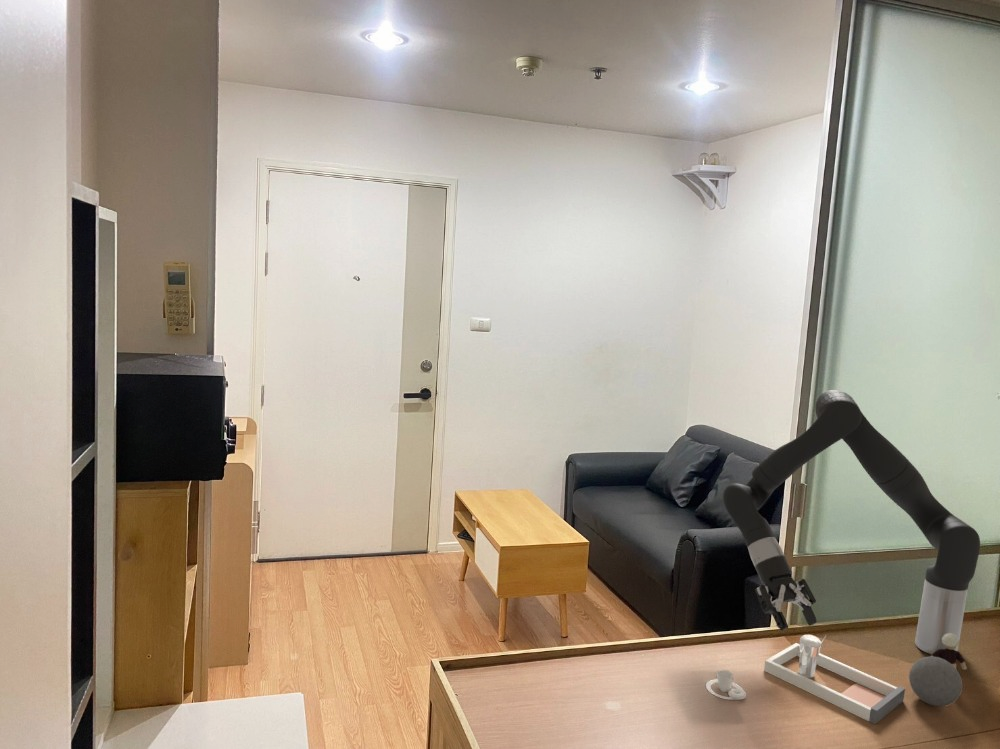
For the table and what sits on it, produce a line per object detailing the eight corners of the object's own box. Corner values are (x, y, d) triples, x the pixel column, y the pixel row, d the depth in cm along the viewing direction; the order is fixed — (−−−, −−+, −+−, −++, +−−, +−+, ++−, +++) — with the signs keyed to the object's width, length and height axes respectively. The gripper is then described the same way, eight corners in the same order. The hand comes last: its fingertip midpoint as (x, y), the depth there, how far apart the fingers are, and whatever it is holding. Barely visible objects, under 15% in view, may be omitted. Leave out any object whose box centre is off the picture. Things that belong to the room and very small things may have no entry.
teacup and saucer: (750, 704, 166) (753, 686, 165) (713, 703, 165) (715, 685, 164) (735, 681, 174) (737, 664, 174) (700, 680, 174) (702, 663, 173)
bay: (794, 652, 188) (796, 640, 188) (903, 701, 170) (905, 688, 169) (763, 670, 179) (765, 658, 178) (874, 724, 160) (876, 710, 160)
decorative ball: (896, 689, 174) (903, 647, 173) (938, 689, 175) (945, 647, 174) (924, 716, 165) (931, 671, 163) (969, 716, 166) (976, 672, 164)
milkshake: (822, 681, 176) (828, 640, 174) (797, 677, 177) (802, 636, 175) (818, 671, 180) (824, 630, 178) (794, 667, 181) (799, 627, 179)
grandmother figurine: (955, 683, 179) (963, 631, 176) (964, 692, 175) (973, 639, 173) (921, 680, 179) (929, 628, 177) (929, 690, 175) (938, 637, 173)
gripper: (755, 557, 183) (785, 625, 175) (801, 551, 189) (832, 617, 181) (737, 569, 189) (765, 636, 181) (782, 563, 195) (812, 628, 186)
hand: (799, 626), depth 181 cm, fingers open, 8 cm apart
